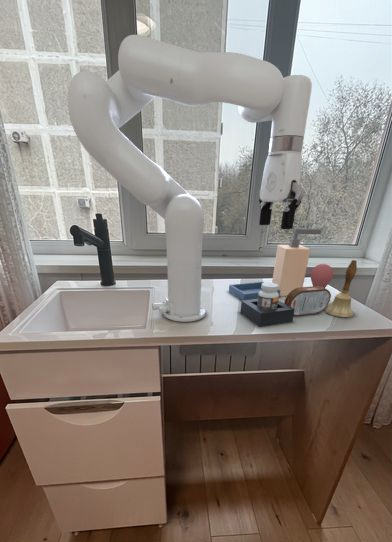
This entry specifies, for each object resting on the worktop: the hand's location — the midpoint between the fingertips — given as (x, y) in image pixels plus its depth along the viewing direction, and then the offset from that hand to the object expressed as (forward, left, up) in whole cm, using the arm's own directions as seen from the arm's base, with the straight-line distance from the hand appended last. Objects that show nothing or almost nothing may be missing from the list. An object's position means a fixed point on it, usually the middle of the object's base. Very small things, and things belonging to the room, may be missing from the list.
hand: (274, 226), depth 75 cm
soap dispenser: (+22, +15, -25) cm, 37 cm away
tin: (+13, -4, -25) cm, 28 cm away
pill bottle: (-1, -3, -25) cm, 25 cm away
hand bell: (+24, -7, -25) cm, 35 cm away
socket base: (-1, -3, -25) cm, 25 cm away
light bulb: (+26, +6, -25) cm, 37 cm away
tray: (+7, +17, -25) cm, 31 cm away
